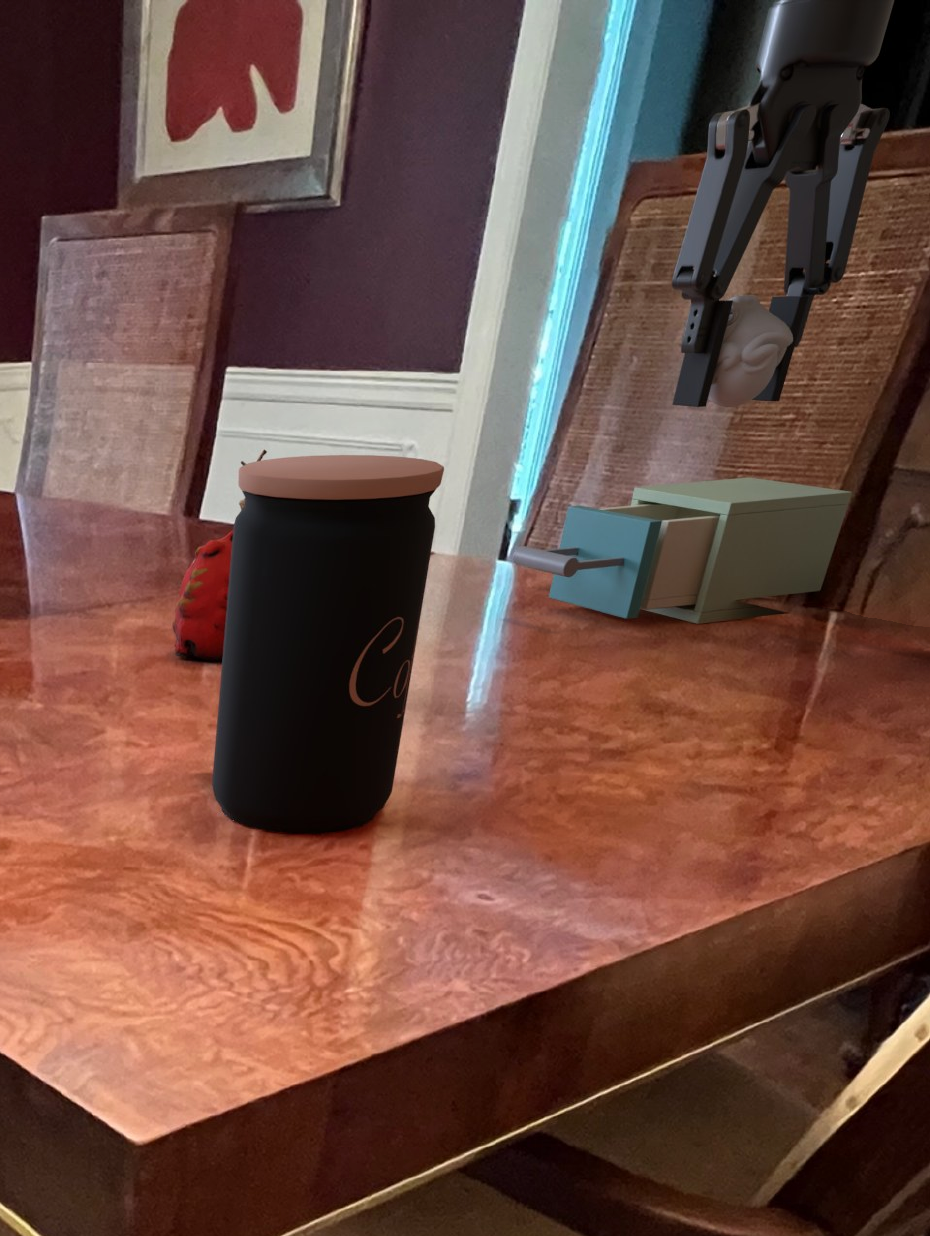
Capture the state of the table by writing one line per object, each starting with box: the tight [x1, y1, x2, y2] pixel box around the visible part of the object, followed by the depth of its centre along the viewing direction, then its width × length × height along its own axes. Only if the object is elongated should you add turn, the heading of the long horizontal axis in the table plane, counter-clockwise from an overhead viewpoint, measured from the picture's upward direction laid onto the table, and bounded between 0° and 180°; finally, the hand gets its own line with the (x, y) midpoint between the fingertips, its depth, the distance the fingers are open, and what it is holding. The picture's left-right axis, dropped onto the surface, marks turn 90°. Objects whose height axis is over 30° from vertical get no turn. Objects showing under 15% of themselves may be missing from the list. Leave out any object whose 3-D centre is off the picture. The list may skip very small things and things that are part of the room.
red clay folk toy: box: [172, 449, 268, 662], centre depth 111 cm, size 8×7×15 cm
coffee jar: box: [211, 454, 445, 835], centre depth 77 cm, size 11×11×18 cm
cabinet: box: [630, 477, 853, 625], centre depth 123 cm, size 13×12×9 cm
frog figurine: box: [708, 294, 793, 408], centre depth 103 cm, size 6×7×7 cm
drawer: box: [512, 503, 721, 620], centre depth 120 cm, size 18×11×7 cm, turn 108°
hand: (725, 402), depth 105 cm, fingers closed on frog figurine, 6 cm apart
